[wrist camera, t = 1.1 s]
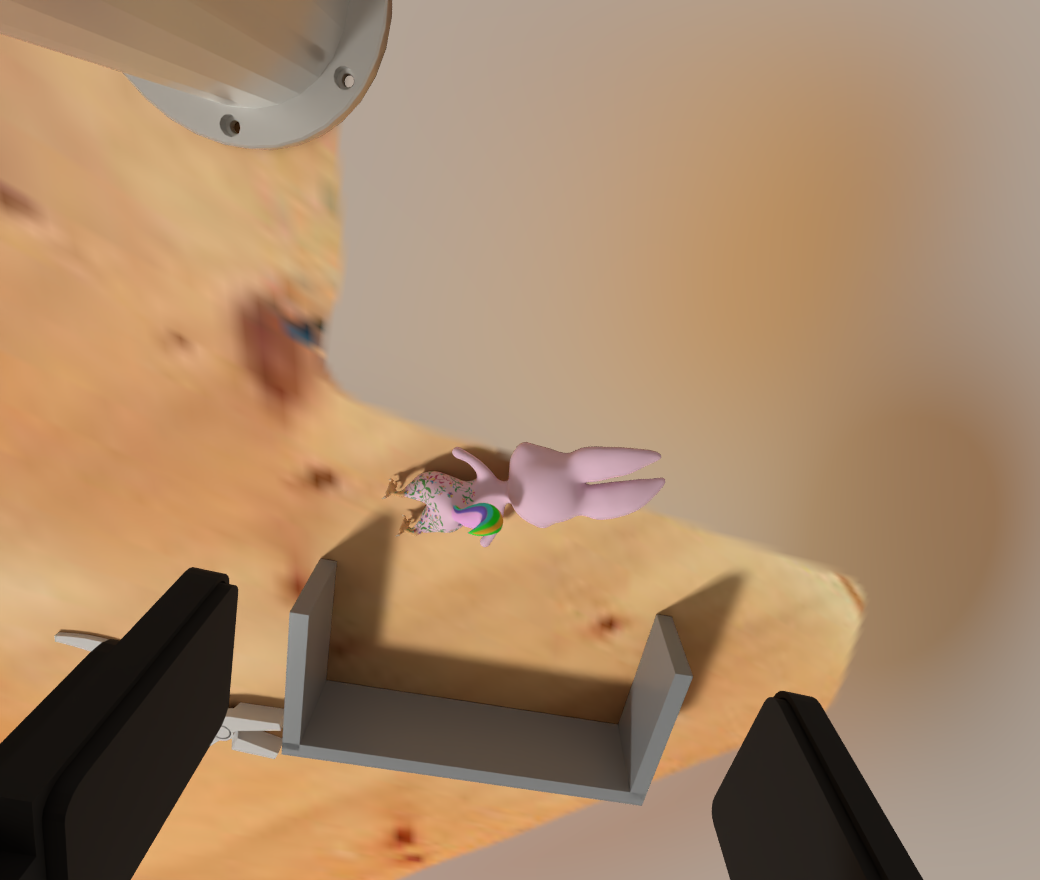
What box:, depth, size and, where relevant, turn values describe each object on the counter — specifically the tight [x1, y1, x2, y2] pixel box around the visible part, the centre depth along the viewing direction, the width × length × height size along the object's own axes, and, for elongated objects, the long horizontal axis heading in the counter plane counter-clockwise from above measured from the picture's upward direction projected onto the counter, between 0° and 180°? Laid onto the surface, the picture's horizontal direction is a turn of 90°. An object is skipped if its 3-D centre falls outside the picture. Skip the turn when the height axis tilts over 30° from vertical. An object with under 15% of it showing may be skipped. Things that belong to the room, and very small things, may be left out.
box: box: [282, 559, 693, 806], centre depth 36 cm, size 10×22×5 cm, turn 79°
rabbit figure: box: [382, 442, 665, 547], centre depth 31 cm, size 6×6×15 cm
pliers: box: [55, 632, 284, 759], centre depth 40 cm, size 10×2×15 cm
